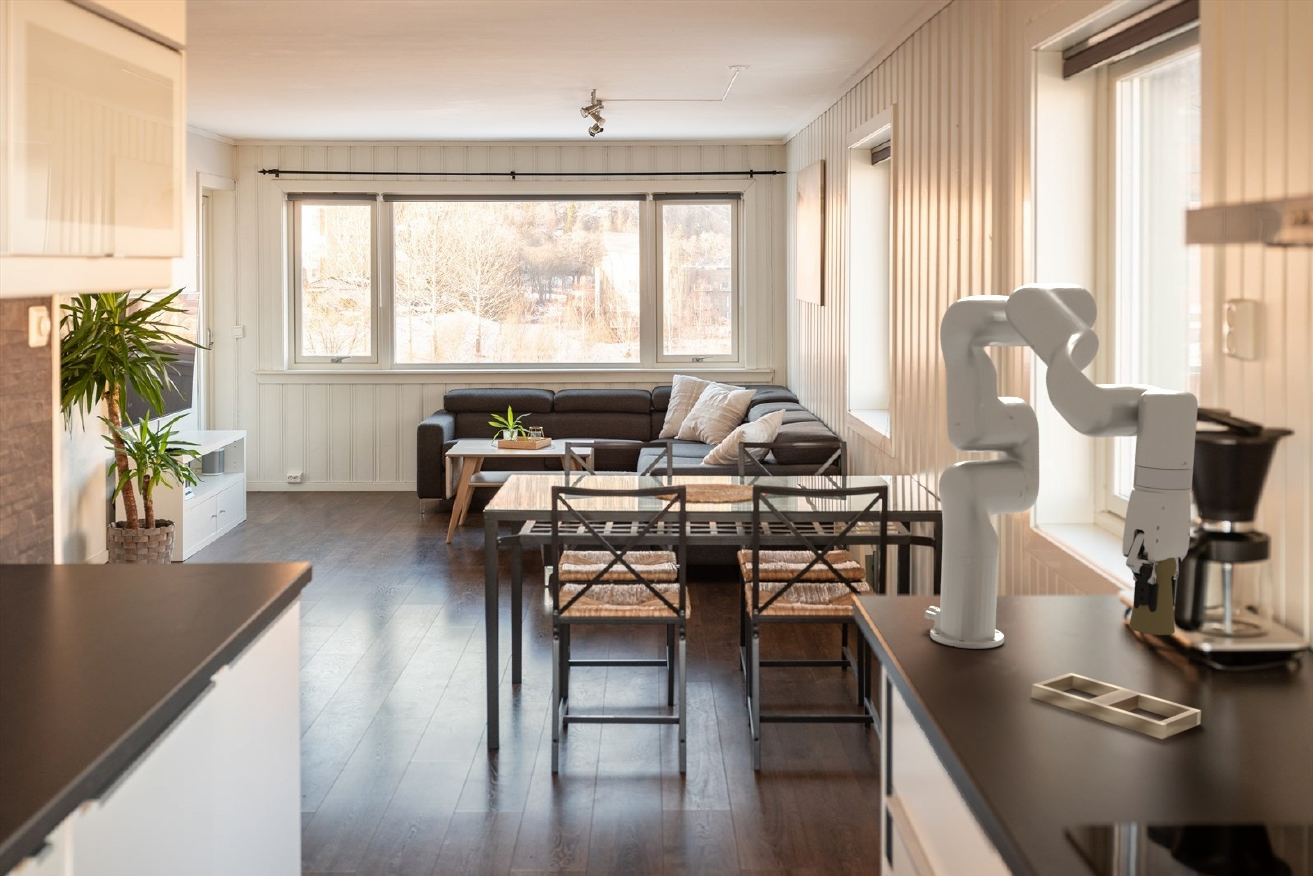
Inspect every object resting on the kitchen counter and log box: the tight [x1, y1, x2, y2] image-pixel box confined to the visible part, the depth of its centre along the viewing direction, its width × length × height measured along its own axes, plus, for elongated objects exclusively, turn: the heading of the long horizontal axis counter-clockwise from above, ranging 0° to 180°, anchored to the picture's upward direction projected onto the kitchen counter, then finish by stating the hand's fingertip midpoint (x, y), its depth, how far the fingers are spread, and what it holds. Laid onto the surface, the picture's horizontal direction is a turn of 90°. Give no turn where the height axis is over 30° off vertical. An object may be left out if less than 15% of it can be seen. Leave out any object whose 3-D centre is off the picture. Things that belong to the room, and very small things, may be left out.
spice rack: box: [1030, 672, 1202, 740], centre depth 175 cm, size 21×10×2 cm, turn 37°
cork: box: [1128, 555, 1177, 636], centre depth 169 cm, size 6×6×11 cm
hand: (1153, 606), depth 170 cm, fingers closed on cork, 3 cm apart
